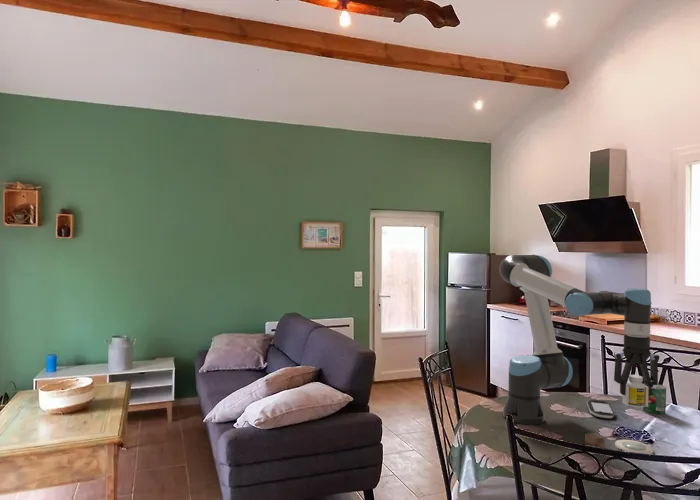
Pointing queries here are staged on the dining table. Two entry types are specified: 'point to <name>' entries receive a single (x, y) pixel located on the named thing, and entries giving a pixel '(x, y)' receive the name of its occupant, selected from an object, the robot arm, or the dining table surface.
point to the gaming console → (601, 409)
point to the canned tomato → (656, 401)
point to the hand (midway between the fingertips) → (635, 404)
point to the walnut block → (594, 440)
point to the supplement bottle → (636, 391)
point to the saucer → (633, 446)
